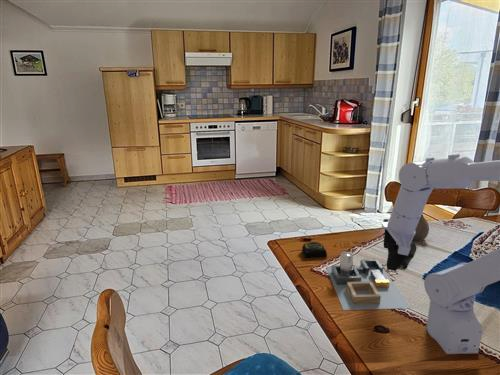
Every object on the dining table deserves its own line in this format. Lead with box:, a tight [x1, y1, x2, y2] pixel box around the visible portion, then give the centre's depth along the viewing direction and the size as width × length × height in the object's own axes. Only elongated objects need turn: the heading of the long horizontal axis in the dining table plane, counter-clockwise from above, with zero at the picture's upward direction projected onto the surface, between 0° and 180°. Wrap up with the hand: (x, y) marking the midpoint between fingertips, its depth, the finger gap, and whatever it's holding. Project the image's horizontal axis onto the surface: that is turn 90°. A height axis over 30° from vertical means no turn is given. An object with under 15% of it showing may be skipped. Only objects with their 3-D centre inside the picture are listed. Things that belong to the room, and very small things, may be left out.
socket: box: [331, 258, 384, 285], centre depth 89 cm, size 9×13×2 cm
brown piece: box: [347, 281, 381, 304], centre depth 80 cm, size 6×6×2 cm
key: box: [370, 270, 390, 288], centre depth 86 cm, size 6×3×2 cm, turn 179°
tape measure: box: [301, 241, 328, 260], centre depth 101 cm, size 7×7×4 cm
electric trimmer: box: [398, 242, 417, 270], centre depth 97 cm, size 4×15×3 cm, turn 140°
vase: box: [412, 213, 430, 242], centre depth 109 cm, size 7×7×9 cm
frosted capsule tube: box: [339, 251, 354, 276], centre depth 87 cm, size 3×3×7 cm
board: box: [325, 265, 412, 311], centre depth 85 cm, size 19×16×1 cm
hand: (389, 258), depth 79 cm, fingers open, 7 cm apart
